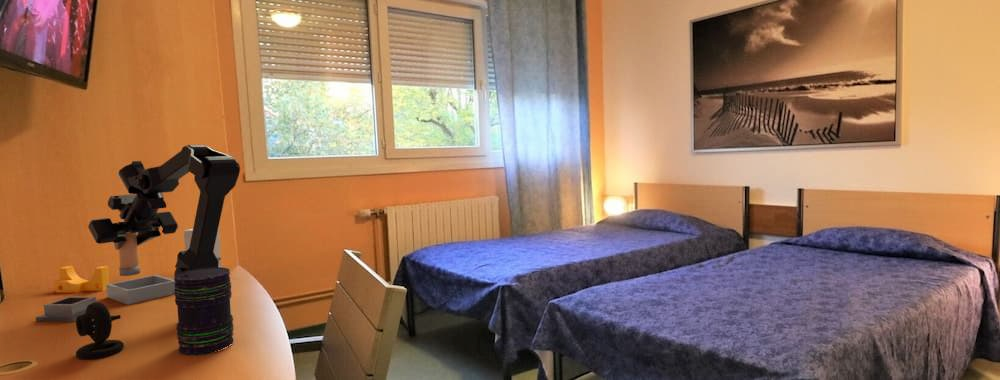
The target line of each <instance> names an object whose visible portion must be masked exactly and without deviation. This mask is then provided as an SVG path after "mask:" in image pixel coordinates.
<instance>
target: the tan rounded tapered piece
mask: <svg viewBox="0 0 1000 380" xmlns="http://www.w3.org/2000/svg"><path fill="white" fill-rule="evenodd" d="M123 221H124V220H120V221H116V223H119V222H123ZM125 238H126V240H127V241H126V242H125V243H124V244H123V245H122V247H121V248H120V249H118V254H119V255H118V256H119V269H118V270H119V276H120V277H129V276H130V277H131V276H136V275H139V274H141V267H140V264H139V251H138V249H139V248H138V246H137V233H131V232H129V233H126V234H125Z"/></svg>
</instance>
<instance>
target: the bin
mask: <svg viewBox="0 0 1000 380" xmlns="http://www.w3.org/2000/svg"><path fill="white" fill-rule="evenodd" d="M106 286H107V289H106V297H107V298H108V299H112V300H113V301H117V302H119V303H122V304H125V305H133V304H136V303H140V302H146V301H149V300H155V299H159V298H163V297H167V296H172V295H175V293H174V289H175V281H174V279H172V278H169V277H165V276H162V275H158V274H153V275H147V276H142V277H137V278H133V279H132V278H131V279H127V280H122V281H117V282H112V283H111V282H110V284H106Z"/></svg>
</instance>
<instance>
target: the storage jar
mask: <svg viewBox="0 0 1000 380" xmlns="http://www.w3.org/2000/svg"><path fill="white" fill-rule="evenodd" d="M230 275H231V271H230V269H229V268H227V267H222V266H221V267H211V268H199V269H193V270H188V271H184V272H180V273H178V274H176V275H175V276H174V275H173V277H174V279H173V280H174V281H175V289H174V293H175V294H174V302H175V305H176V306H177V320H178V321H177V323H176V337H177V338H176V339H177V340H178V341H177V343H178V345H179V346H178V353H179V354H180V355H182V356H187V357H189V356H190V357H196V356H197V357H198V356H205V354H207V355H210V353H212V352H215V351H218V350H221V349H223V348H225V347H227V346H229V345H230V344H232V343H233V341H234V338H233V335H234V329H235V328H234V318H233V314H232V313H231V311H232V310H231V298H232V295H233V293H232V282H231V277H230ZM233 344H234V343H233ZM233 344H232V345H233ZM212 354H213V353H212Z"/></svg>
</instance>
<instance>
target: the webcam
mask: <svg viewBox="0 0 1000 380" xmlns="http://www.w3.org/2000/svg"><path fill="white" fill-rule="evenodd" d="M119 319H121V315H120V314H119V315H118V314H117V315H111V313H110V311H109V309H108V307H107V306H106V305H105V304H104V303H103V302H101V301H96V302H94V303H92V304H90V305H88V306H87V308H86V312H85V314H84V315H79V316H77V318H76V321H75V326H76V330H77V334H78V335H79V336H80V337H81V338H83V337H85V336H89V337H90V338H91V340H92V341H93V342H90V343H88V344H85V345H83V346H81V347H79V348H78V349H77V350H76V351H75V356H76V358H78V359H79V360H95V359H101V358H106V357H109V356H113V355H116V354H117V353H118V352H120V351H122V350H123V349H124V347H125V345H124V344H125V343H124V342H123V341H121V340H119V339H109V338H110V336H111V331H112V325H113V324H112V322H113V321H115V320H119ZM102 348H103V349H102ZM104 348H105V349H104ZM98 349H100V350H98Z"/></svg>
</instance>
